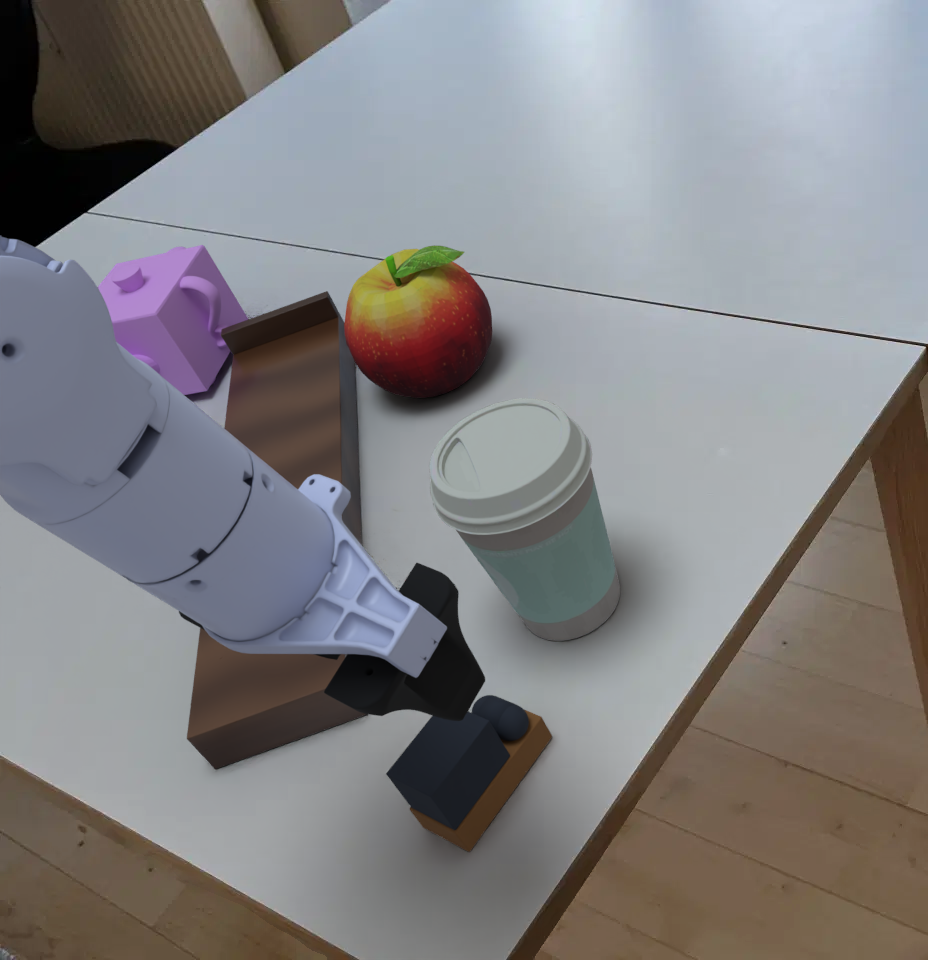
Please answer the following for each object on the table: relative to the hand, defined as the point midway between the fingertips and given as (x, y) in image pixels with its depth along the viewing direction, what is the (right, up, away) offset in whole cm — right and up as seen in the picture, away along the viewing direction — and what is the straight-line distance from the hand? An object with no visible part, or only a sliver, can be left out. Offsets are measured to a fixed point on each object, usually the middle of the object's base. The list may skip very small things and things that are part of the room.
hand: (403, 666), depth 47 cm
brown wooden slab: (-13, +6, +29) cm, 32 cm away
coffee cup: (+6, +1, +16) cm, 17 cm away
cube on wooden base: (+2, -7, +8) cm, 11 cm away
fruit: (-5, +16, +37) cm, 41 cm away
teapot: (-29, +17, +47) cm, 58 cm away
